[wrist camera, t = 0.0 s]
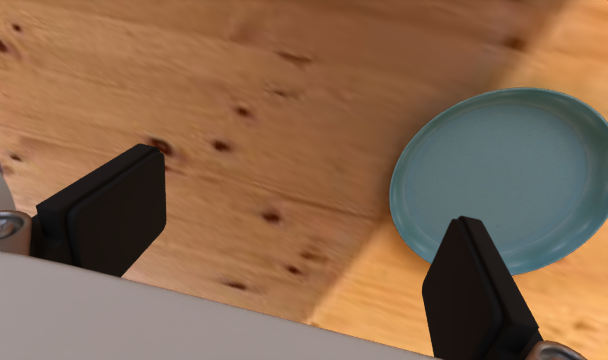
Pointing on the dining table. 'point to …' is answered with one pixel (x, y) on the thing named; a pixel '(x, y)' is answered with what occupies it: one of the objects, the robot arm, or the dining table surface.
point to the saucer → (506, 175)
